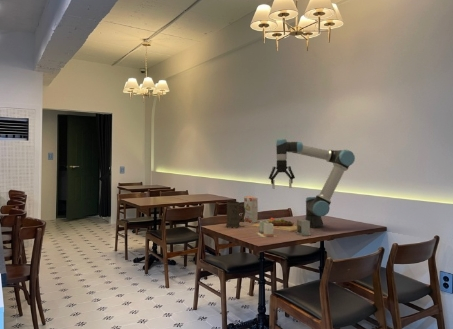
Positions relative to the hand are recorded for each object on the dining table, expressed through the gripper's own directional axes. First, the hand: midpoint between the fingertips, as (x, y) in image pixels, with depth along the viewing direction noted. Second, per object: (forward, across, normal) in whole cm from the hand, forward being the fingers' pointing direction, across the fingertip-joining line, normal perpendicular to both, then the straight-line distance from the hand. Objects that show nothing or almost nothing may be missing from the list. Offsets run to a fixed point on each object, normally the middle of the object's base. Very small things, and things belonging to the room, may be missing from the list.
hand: (281, 188), depth 270 cm
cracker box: (+31, +11, -41) cm, 53 cm away
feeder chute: (+31, -8, +18) cm, 37 cm away
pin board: (+31, +20, +17) cm, 41 cm away
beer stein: (+31, +30, -23) cm, 49 cm away
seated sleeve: (+30, +20, +13) cm, 38 cm away
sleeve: (+30, +20, +22) cm, 42 cm away
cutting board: (+32, -1, -11) cm, 34 cm away
